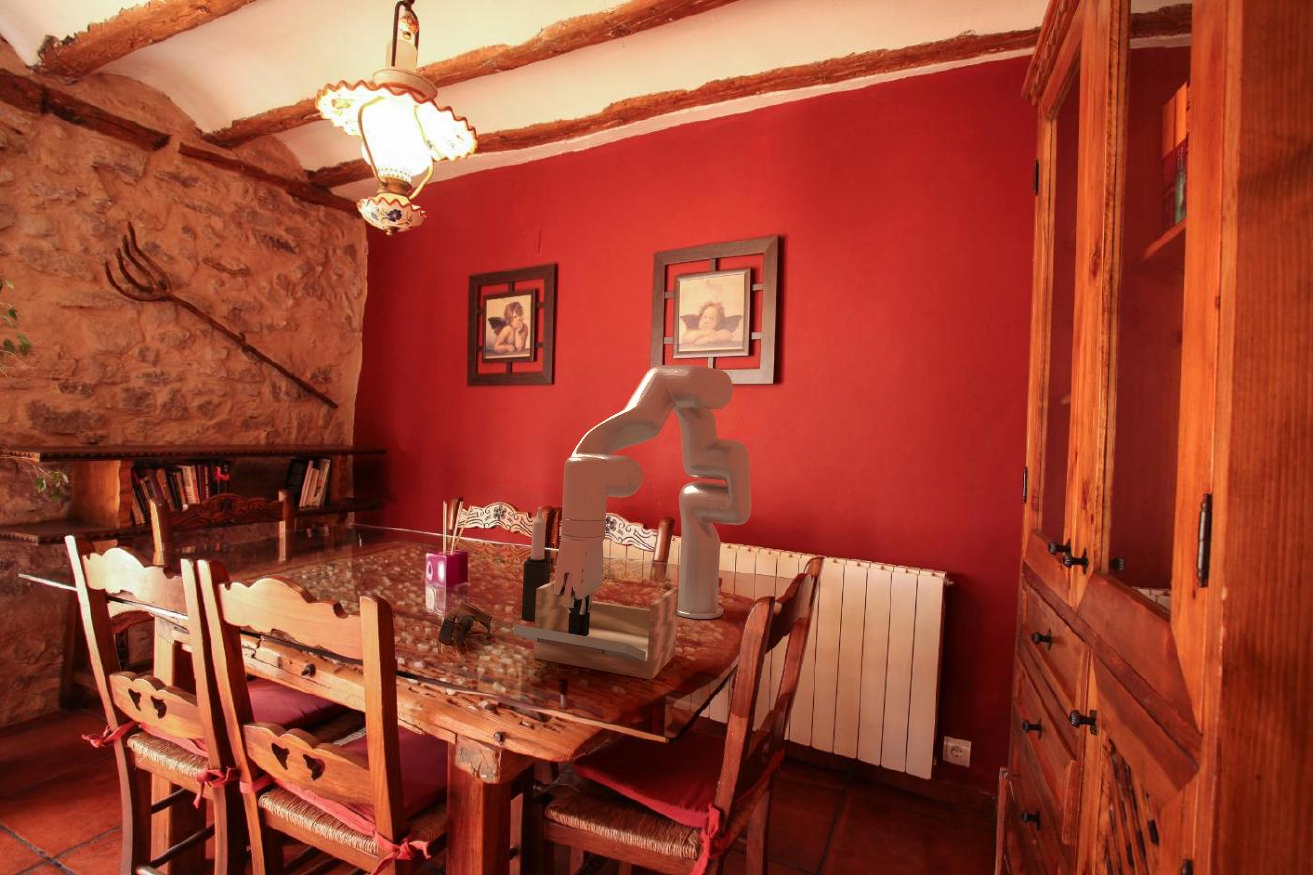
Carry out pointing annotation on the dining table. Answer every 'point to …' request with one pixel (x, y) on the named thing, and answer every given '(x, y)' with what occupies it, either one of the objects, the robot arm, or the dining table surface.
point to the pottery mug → (462, 622)
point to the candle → (535, 568)
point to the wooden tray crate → (612, 633)
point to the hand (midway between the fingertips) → (578, 635)
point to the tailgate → (580, 642)
